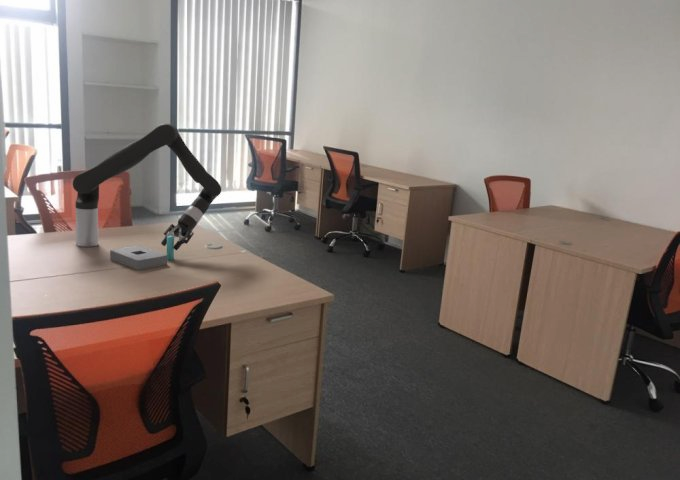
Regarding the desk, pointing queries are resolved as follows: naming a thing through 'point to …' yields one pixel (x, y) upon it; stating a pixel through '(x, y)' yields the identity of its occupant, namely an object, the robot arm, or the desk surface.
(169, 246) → the peg
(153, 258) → the hole block
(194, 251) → the desk surface
